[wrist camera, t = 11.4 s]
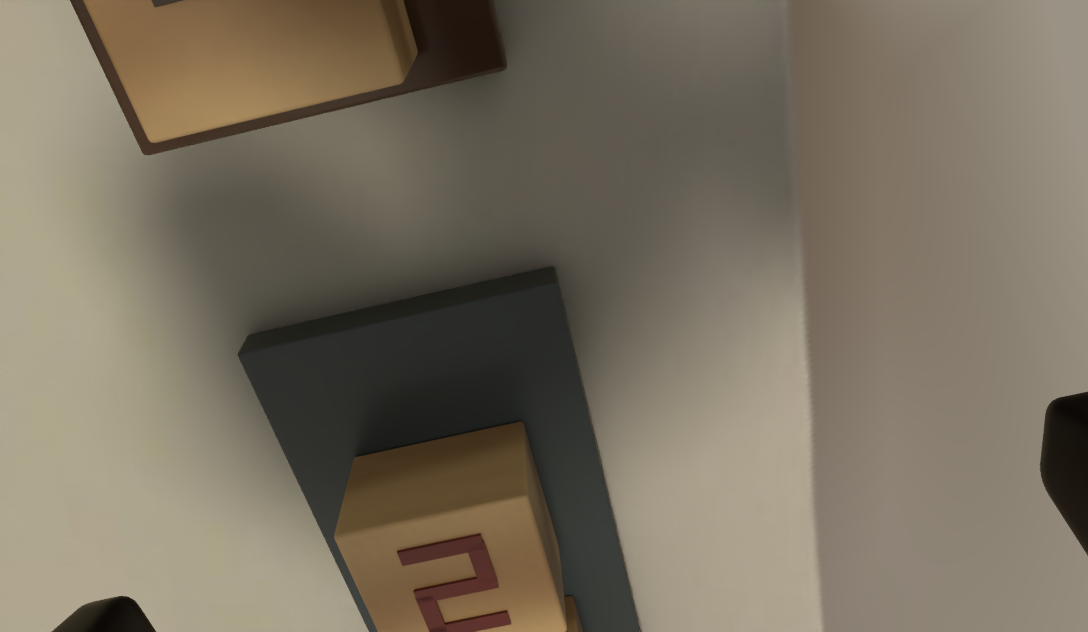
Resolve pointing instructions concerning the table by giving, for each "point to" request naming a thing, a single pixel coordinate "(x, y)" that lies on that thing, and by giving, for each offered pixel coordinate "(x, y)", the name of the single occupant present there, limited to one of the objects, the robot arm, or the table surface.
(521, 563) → the number block
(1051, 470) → the robot arm
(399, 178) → the table surface
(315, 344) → the back word strip
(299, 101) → the strip
